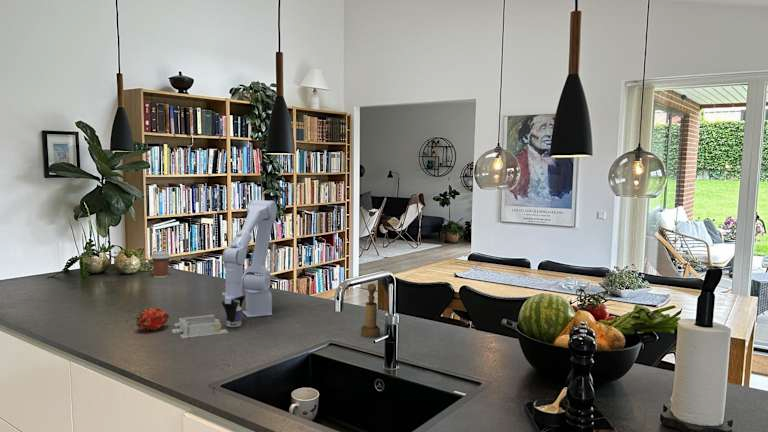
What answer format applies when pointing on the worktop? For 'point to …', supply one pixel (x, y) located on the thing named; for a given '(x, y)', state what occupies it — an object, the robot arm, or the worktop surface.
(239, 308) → the pill bottle
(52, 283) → the worktop surface
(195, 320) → the socket
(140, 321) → the dragon fruit
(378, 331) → the brown wooden tall piece
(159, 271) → the coffee cup
